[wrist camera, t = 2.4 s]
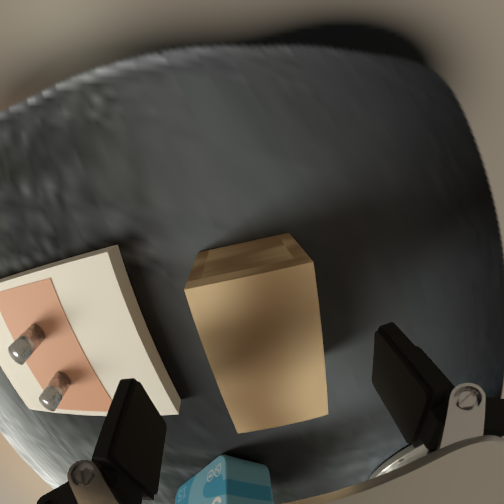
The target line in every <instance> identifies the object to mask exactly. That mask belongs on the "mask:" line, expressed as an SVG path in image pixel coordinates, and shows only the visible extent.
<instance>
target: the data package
mask: <svg viewBox="0 0 504 504" xmlns="http://www.w3.org/2000/svg"><path fill="white" fill-rule="evenodd" d="M175 504H274V502H273V495H272V488H271V481H270V474H269V470H268V468H267V466H265V465H264V464H260V463H255V462H251V461H247V460H243V459H239V458H235V457H232V456H228V455H220V456H218V457H217V458H216V459H215V460H214V461H212V462H211V463H210V464H209V465H207V466H206V467H205V468H204V469H202V470H201V471H200V472H199V473H197V474H196V475H195V476H193V477H192V478H191V479H190V480H188V481H187V482H186V483H184V484H183V485H182V486H181V487H180V488H179V490H178V492H177V495H176V500H175Z"/></svg>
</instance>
